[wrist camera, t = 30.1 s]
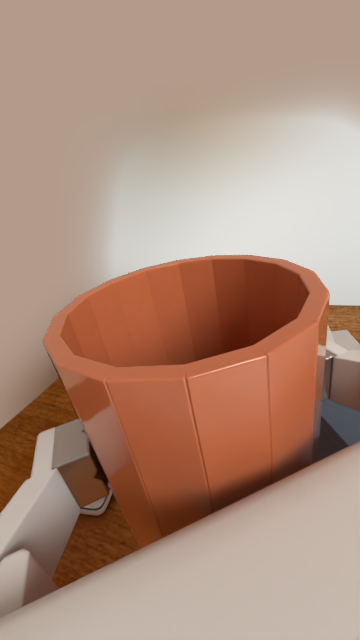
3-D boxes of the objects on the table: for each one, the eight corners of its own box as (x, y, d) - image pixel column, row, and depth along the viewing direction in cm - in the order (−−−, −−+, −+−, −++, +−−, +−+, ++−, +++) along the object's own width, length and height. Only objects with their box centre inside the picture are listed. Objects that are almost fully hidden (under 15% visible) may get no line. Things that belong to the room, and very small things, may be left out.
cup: (358, 569, 9) (418, 312, 5) (145, 654, 8) (-2, 431, 4) (258, 414, 15) (246, 243, 11) (131, 454, 14) (67, 285, 10)
